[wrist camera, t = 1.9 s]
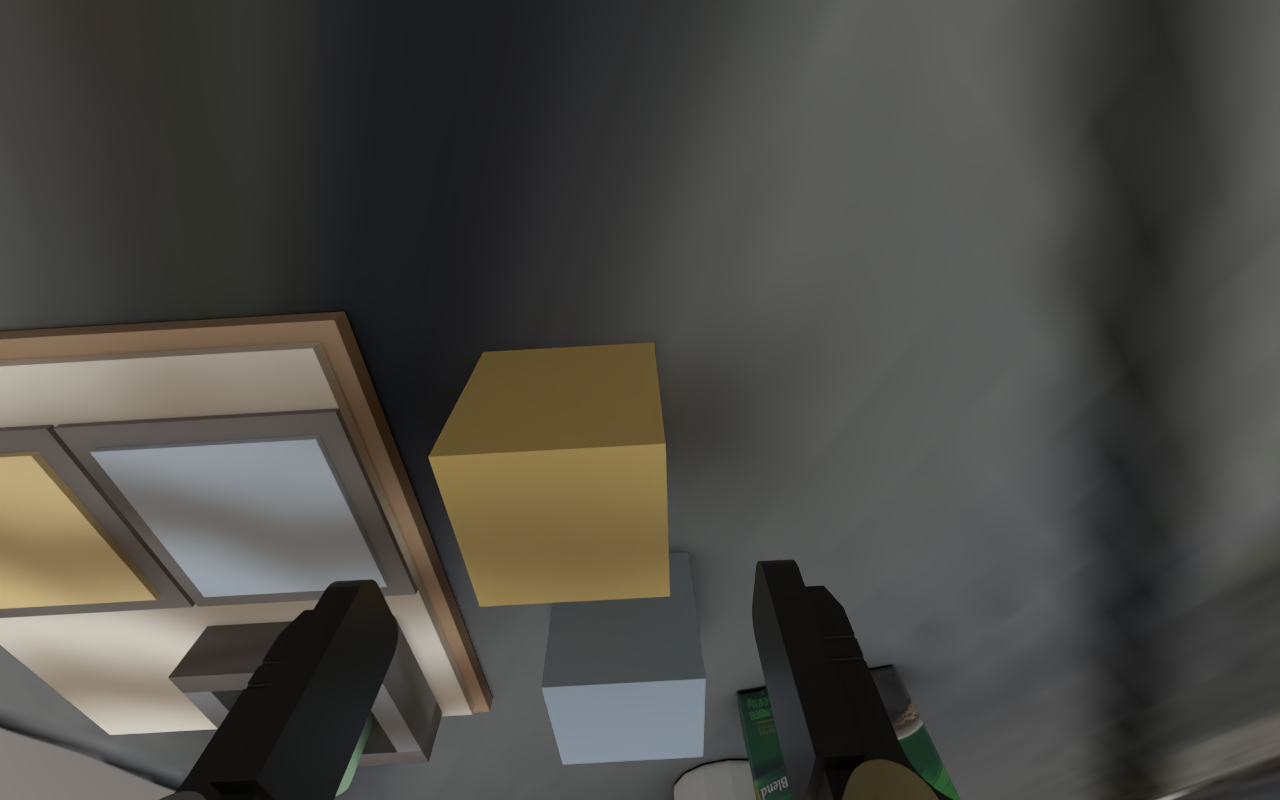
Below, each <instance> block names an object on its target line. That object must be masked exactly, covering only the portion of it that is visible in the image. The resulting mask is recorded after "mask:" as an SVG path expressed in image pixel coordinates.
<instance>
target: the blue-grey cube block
mask: <svg viewBox="0 0 1280 800" xmlns="http://www.w3.org/2000/svg"><path fill="white" fill-rule="evenodd" d="M669 578H670V596H668V597H650V598H632V599H613V600H595V601H577V602H558V603H553V606H552V614H551V621H550V628H549V636H548V643H547V651H546V658H545V665H544V673H543V680H542V687H541V688H542V691H543V695H544V699H545V702H546V706H547V709H548V713H549V717H550V720H551V724H552V727H553V731H554V735H555V738H556V742H557V745H558V749H559V752H560V756H561V760H562V763H563V765H564V764H582V763H600V762H618V761H636V760H654V759H672V758H690V757H703V742H704V712H705V682H706V678H705V671H704V663H703V656H702V649H701V642H700V635H699V627H698V620H697V613H696V606H695V598H694V591H693V584H692V577H691V570H690V562H689V555H688V552H679V553H669Z"/></svg>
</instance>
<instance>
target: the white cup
mask: <svg viewBox="0 0 1280 800" xmlns="http://www.w3.org/2000/svg"><path fill="white" fill-rule="evenodd" d="M674 800H756V795H755V790H754V785H753V778H752V774H751V769H750V764H749V761H742V760H728V761H722V762H715V763H711V764H706V765H703V766H700V767H698V768H696V769H694V770H692V771H690V772H688V773H686V774H684V775H683V776H682V777H681V778H680V780H679V781H678V782H677V783H676V784H675V786H674Z"/></svg>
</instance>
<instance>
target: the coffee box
mask: <svg viewBox="0 0 1280 800" xmlns="http://www.w3.org/2000/svg"><path fill="white" fill-rule="evenodd" d="M870 673H871V675H872V677H873V680H874V682H875V685H876V687H877V690H878V692H879V694H880V697H881V699H882V702H883V704H884V706H885V709H886V711H887V714H888V716H889V718H890V721H891V723H892V726H893V728H894V730H895V733H896V735H897V738H898V740H899V742H900V745H901V747H902V749H903V751H904V753H905V755H906V756H907V758H908V760H909V761H910V763H911V764H912V765H913V767H914V768H915V769H916V770H917V772H918V773H919V774H920V775H921V776H922V777H923V778H924V779H925V780H926V781H927V782H928V783H929V784H931V785H932V786H933V787H934V788H935V789H937V790H938V791H940V792H941V793H943V794H944V795H946V796H948V797H949V798H951V799H953V800H961V799H960V798H959V796H958V794H957V792H956V790H955V787H954V785H953V783H952V781H951V779H950V777H949V775H948V773H947V771H946V769H945V767H944V765H943V763H942V761H941V759H940V756H939V754H938V752H937V750H936V748H935V746H934V744H933V742H932V740H931V738H930V736H929V734H928V732H927V730H926V728H925V726H924V724H923V722H922V720H921V719H920V717H919V715H918V713H917V710H916V708H915V706H914V704H913V703H912V701H911V698H910V696H909V694H908V692H907V690H906V688H905V686H904V684H903V682H902V680H901V678H900V676H899V675H898V673H897V671H896V669H895V667H894V666H890V667H886V668H881V669H876V670H870ZM737 698H738V705H739V711H740V718H741V723H742V728H743V735H744V740H745V746H746V750H747V755H748V759H749V764H750V769H751V774H752V778H753V785H754V790H755V795H756V800H793V799H792V794H791V790H790V786H789V782H788V777H787V773H786V769H785V764H784V760H783V756H782V751H781V747H780V743H779V738H778V734H777V730H776V725H775V721H774V717H773V712H772V708H771V704H770V699H769V695H768V691H767V688H765V689H763V690H761V691H757V692H752V693H746V694H740V695H737Z"/></svg>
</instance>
